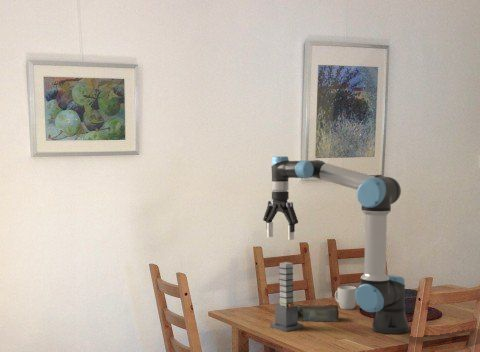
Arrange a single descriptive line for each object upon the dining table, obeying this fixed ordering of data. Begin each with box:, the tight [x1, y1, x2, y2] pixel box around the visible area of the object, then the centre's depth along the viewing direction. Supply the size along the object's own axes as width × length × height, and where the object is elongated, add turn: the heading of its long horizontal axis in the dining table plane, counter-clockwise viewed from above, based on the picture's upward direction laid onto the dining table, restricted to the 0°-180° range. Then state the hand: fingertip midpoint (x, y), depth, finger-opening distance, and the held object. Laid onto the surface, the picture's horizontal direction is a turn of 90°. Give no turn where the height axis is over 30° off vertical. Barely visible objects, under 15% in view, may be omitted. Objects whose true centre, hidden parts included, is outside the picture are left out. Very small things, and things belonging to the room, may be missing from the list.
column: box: [278, 261, 294, 307], centre depth 307 cm, size 4×4×20 cm
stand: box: [269, 302, 304, 332], centre depth 308 cm, size 10×10×11 cm
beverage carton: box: [296, 304, 339, 323], centre depth 322 cm, size 8×19×7 cm, turn 81°
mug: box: [334, 285, 358, 310], centre depth 346 cm, size 13×9×10 cm
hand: (280, 238), depth 321 cm, fingers open, 13 cm apart
